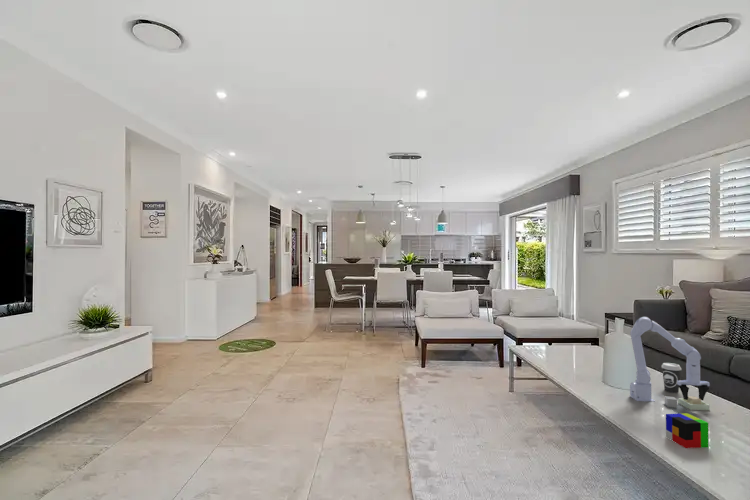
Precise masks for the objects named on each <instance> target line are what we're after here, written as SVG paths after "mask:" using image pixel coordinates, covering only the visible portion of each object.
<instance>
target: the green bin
mask: <svg viewBox="0 0 750 500" xmlns="http://www.w3.org/2000/svg"><path fill="white" fill-rule="evenodd" d="M677 404H678V405H680V406H682V407H684V408H686V409H687V410H689V411H693V410H696V411H697V410H698V411H710V404H709V403H706V402H705V401H703V400H701V404H689V403H688V402H687V400H685V399H684V398H683V397H678V398H677Z"/></svg>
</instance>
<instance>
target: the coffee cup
mask: <svg viewBox="0 0 750 500" xmlns="http://www.w3.org/2000/svg"><path fill="white" fill-rule="evenodd" d="M660 368H661V370H662V377H663V388H664V391H666V392H669V393H675V394H676V393H679V391H680V388H679V386H678V384H677V381H681V379H680V378H681V371H682V367H681V366H680V364H678V363H671V362H663V363H662V364H661V367H660Z"/></svg>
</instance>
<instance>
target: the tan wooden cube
mask: <svg viewBox="0 0 750 500" xmlns="http://www.w3.org/2000/svg"><path fill="white" fill-rule="evenodd" d="M701 401H702V400H701V399H699V397H698V396H691V395H690V396H689V395H688V400H687V402H688V403H689V404H701Z"/></svg>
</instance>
